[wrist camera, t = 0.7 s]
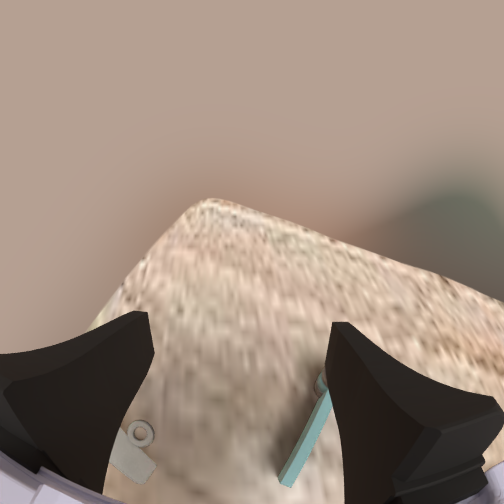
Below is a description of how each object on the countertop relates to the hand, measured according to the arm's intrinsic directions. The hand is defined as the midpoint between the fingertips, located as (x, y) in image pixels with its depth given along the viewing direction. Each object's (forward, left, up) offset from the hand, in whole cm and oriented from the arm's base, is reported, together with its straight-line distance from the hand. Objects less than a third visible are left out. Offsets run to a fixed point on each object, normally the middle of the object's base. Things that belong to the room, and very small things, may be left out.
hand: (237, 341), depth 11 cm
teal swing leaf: (-3, -4, -16) cm, 16 cm away
